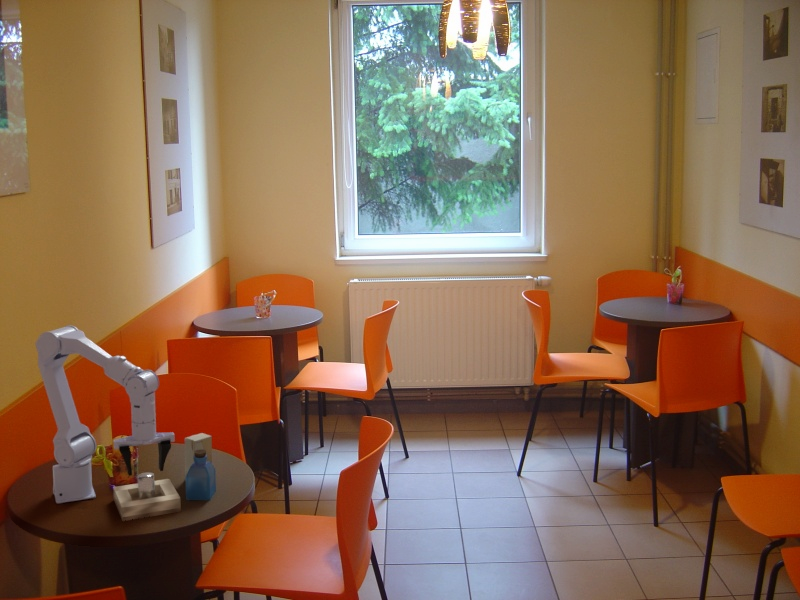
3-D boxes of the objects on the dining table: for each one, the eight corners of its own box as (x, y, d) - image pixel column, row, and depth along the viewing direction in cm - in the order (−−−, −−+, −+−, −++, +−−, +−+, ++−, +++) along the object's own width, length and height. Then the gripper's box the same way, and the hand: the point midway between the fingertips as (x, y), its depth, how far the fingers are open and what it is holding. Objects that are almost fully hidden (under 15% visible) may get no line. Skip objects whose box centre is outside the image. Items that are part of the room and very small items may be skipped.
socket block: (122, 521, 206) (121, 507, 206) (113, 500, 219) (113, 487, 218) (180, 511, 212) (180, 498, 212) (169, 491, 225) (168, 478, 224)
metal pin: (139, 505, 213) (138, 479, 212) (137, 499, 216) (136, 473, 215) (156, 503, 215) (155, 476, 213) (153, 497, 218) (152, 471, 217)
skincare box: (194, 484, 229) (193, 441, 227) (184, 480, 232) (183, 437, 230) (213, 477, 234) (212, 435, 232) (202, 474, 237) (201, 432, 235)
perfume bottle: (192, 490, 226) (191, 447, 224) (215, 491, 226) (214, 447, 223) (186, 499, 220) (184, 455, 218) (210, 500, 219) (209, 456, 217)
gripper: (115, 428, 205) (117, 481, 207) (176, 421, 211) (178, 473, 214) (111, 420, 211) (113, 472, 214) (170, 413, 218) (172, 463, 220)
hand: (145, 471), depth 214 cm, fingers open, 7 cm apart
